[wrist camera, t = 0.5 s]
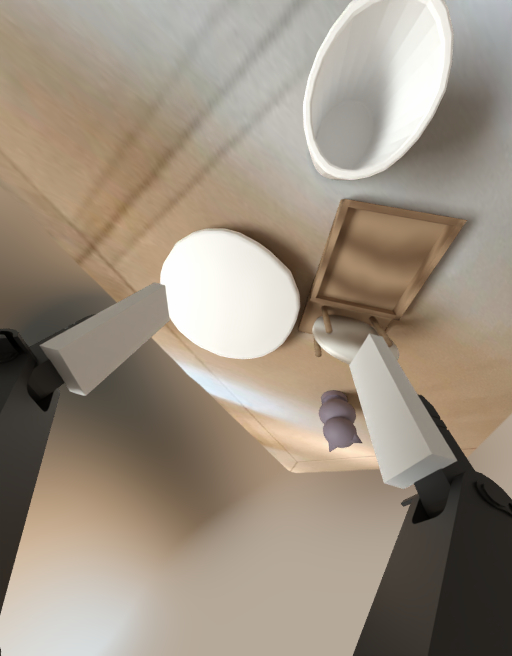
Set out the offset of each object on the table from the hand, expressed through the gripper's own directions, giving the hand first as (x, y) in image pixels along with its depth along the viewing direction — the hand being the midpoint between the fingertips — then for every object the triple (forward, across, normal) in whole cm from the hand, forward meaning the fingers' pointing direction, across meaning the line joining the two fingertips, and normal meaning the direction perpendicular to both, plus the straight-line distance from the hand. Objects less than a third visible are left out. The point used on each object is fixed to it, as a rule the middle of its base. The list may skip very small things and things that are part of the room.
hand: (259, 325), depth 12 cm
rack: (+25, +14, -3) cm, 29 cm away
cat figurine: (+25, +21, -33) cm, 47 cm away
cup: (+25, +4, +14) cm, 29 cm away
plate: (+25, -9, -12) cm, 29 cm away
